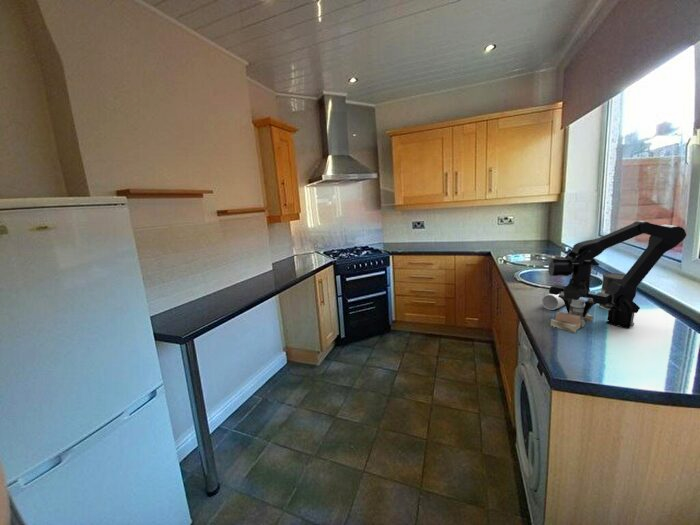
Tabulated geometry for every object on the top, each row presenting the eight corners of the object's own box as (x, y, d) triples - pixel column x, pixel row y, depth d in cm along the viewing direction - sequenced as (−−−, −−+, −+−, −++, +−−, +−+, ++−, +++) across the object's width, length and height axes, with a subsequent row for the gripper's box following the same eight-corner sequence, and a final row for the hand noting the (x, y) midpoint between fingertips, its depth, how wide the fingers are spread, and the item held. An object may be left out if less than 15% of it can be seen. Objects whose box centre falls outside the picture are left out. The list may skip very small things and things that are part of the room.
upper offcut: (579, 322, 113) (580, 316, 112) (577, 324, 111) (578, 318, 110) (557, 317, 118) (558, 311, 117) (555, 319, 116) (556, 313, 115)
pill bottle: (569, 316, 122) (571, 296, 120) (583, 319, 119) (586, 298, 117) (567, 320, 118) (570, 300, 116) (583, 323, 115) (585, 302, 113)
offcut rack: (592, 321, 118) (593, 315, 117) (574, 333, 109) (575, 326, 109) (569, 315, 124) (569, 309, 124) (550, 326, 116) (551, 319, 115)
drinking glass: (572, 306, 137) (555, 312, 129) (557, 299, 142) (539, 305, 134) (578, 292, 134) (560, 298, 127) (561, 286, 140) (544, 291, 132)
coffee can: (634, 313, 123) (639, 280, 120) (601, 310, 128) (606, 278, 125) (626, 305, 132) (630, 274, 129) (596, 302, 137) (600, 272, 134)
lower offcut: (579, 329, 113) (580, 322, 112) (576, 331, 111) (577, 325, 110) (558, 323, 118) (559, 317, 118) (555, 325, 117) (555, 319, 116)
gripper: (543, 275, 118) (540, 313, 121) (603, 285, 103) (597, 328, 106) (557, 270, 124) (553, 306, 127) (615, 279, 109) (609, 320, 112)
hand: (576, 315), depth 118 cm, fingers closed on pill bottle, 5 cm apart
